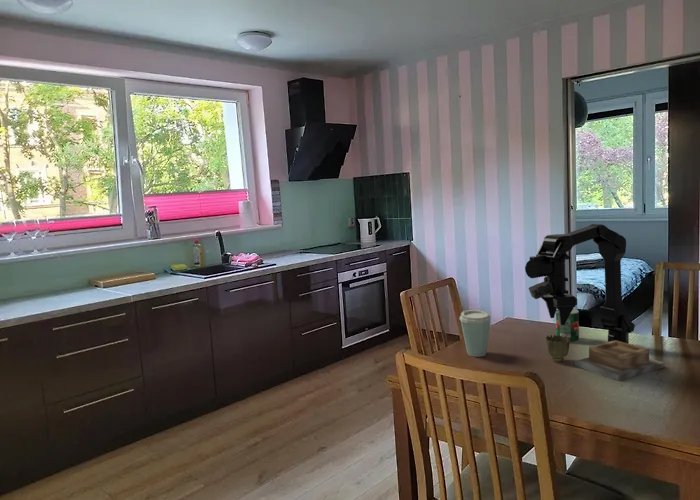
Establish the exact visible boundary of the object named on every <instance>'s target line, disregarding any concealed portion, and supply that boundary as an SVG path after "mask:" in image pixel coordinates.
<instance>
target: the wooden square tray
mask: <svg viewBox="0 0 700 500" xmlns="http://www.w3.org/2000/svg"><path fill="white" fill-rule="evenodd" d="M574 366H575V367H578V368H581V369H585V370H587V371H590V372H593V373H596V374H598V375H601V376H605V378H610V379H613V380H615V381H618V382H619V381H622V380H625V379H629V378H632V377H636V376H639V375H643V374H646V373H649V372H652V371H657V370H660V369H663V368H665V363H664V361H660V360H656V359H653V358H650V349H649V348H647V347H642V346H639V345H635V344H631V343H629V344H628V343H624V342H621V341H617V340H614V341H610V342H608V341H606V342H603V343H599V344H593V345H590V346H588V357H585V358H581V359H577V360H574Z"/></svg>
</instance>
